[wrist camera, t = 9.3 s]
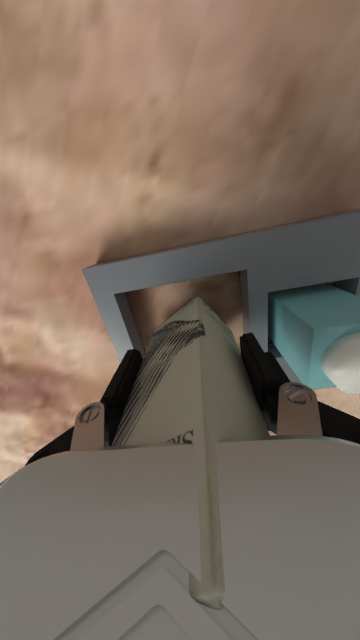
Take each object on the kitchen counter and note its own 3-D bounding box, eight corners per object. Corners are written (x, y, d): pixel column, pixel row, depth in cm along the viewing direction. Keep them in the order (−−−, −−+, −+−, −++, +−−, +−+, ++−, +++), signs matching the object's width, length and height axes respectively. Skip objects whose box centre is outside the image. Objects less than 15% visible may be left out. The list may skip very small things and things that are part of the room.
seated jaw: (324, 282, 14) (432, 326, 8) (317, 329, 16) (403, 396, 9) (268, 291, 15) (327, 340, 8) (268, 336, 16) (317, 404, 10)
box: (198, 292, 14) (237, 605, 2) (233, 332, 15) (370, 660, 4) (149, 333, 16) (32, 629, 4) (184, 365, 17) (171, 661, 5)
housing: (359, 209, 12) (389, 205, 10) (330, 369, 17) (346, 385, 16) (95, 264, 14) (82, 269, 12) (143, 390, 20) (138, 406, 18)
